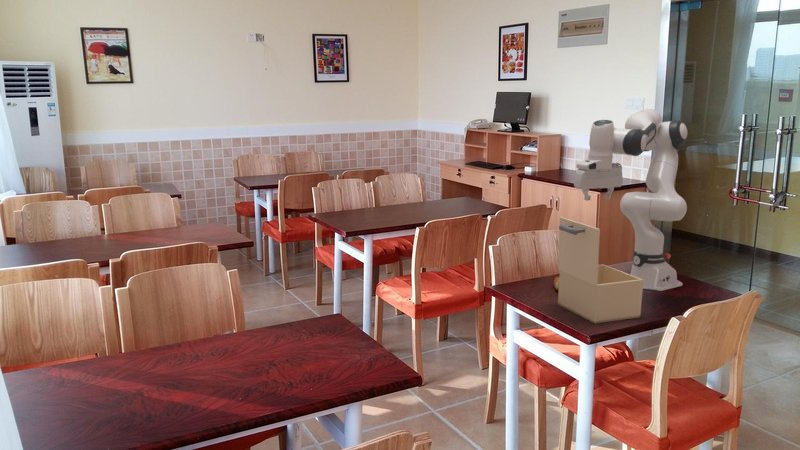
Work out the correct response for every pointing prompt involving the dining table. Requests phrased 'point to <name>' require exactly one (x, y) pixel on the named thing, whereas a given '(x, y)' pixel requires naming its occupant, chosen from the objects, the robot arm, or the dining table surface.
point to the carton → (602, 295)
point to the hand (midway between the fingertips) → (597, 199)
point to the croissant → (556, 283)
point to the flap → (579, 250)
